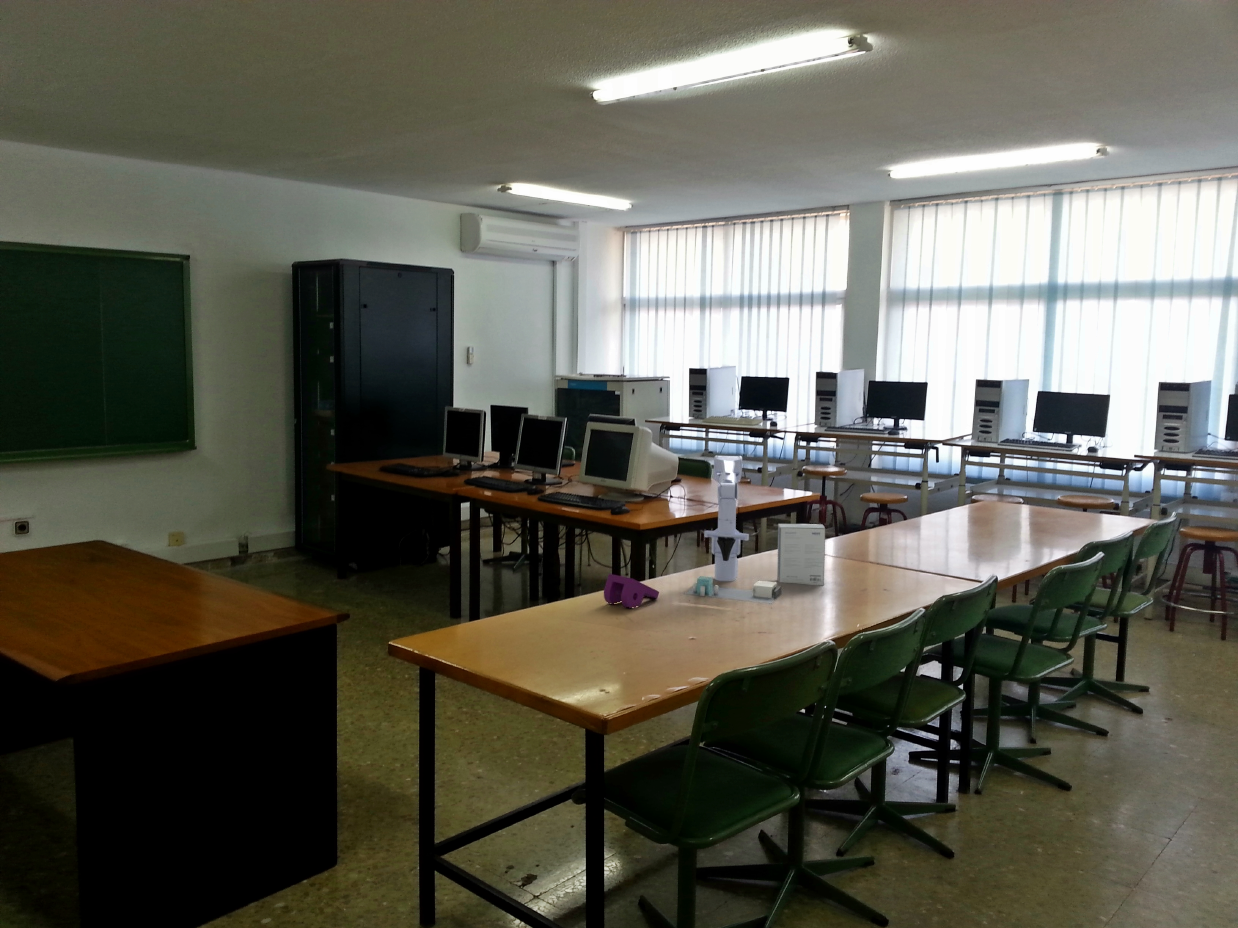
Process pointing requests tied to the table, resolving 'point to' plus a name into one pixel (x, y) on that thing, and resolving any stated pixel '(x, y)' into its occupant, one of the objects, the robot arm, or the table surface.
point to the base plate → (734, 594)
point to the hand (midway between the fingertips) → (725, 560)
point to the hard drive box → (801, 553)
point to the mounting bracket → (627, 591)
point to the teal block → (705, 584)
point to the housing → (764, 589)
